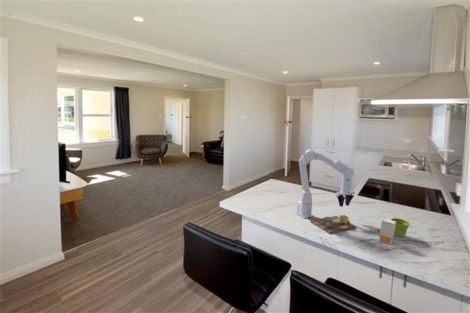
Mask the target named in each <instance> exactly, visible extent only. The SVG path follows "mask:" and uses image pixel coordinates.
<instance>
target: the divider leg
mask: <svg viewBox="0 0 470 313" xmlns="http://www.w3.org/2000/svg"><path fill="white" fill-rule="evenodd" d="M338 217H340V220H339V221H342V222H343V225H346V224H348V220H349V216H348V215H345V214H342V215H341V214H340V215H339V216H338Z"/></svg>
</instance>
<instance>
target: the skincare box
mask: <svg viewBox="0 0 470 313" xmlns="http://www.w3.org/2000/svg"><path fill="white" fill-rule="evenodd" d="M395 226H396V222H395V221H392V220H391V219H388V218H383V219H382V220H381V222H380V231H379V236H378V241H379V242H382V243H386V244H388V245H392V243H393V242H394V238H395V236H394V233H395Z"/></svg>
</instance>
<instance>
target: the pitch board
mask: <svg viewBox="0 0 470 313" xmlns="http://www.w3.org/2000/svg"><path fill="white" fill-rule="evenodd" d="M339 220H340V217H339V216H337V215H335V216H324V217H323V218H316V219H312V220H310V223H311V224H313V225H314V226H316V227H317V226H318V228H320V229H321V230H323V231H324V232H325V233H328V234H334V232H335V233H338V232H343V231H348V230H353V229H356V228H357V225H355V224H353V223H351V222H350V220H349V219H348V224H346V225H343V222H342V221H339Z"/></svg>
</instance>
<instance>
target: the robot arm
mask: <svg viewBox="0 0 470 313" xmlns="http://www.w3.org/2000/svg"><path fill="white" fill-rule="evenodd" d="M314 160H315V161H321V162H323V163H326V164H328V165H330V166H331V169H333V170H335V171H336V172H339V173H340V174H342V177H341V186H340V191H338V192H335V196H336V198H337V200H338V205H339V207H340V208H343V206H344V203H345V206H348V207H349V206H350V203H351V202H352V200H353V198H354V197H355V195H356V190H352V184H353V183H352V181H353V176H354V174H355V172H354V169H353V168H352V167H351V166H350V165H349V164H345V163H343V162H341V160H340V159H339V160H337V159H336V160H333V159H331V158H330V157H328V156H327V155H326V156H325V155H324V154H322V153H321V152H319V151H316V150H314V149H312V148H307V149H306V150H305V151H304V152H303V153H302V155H301V157H300V159H299V161H298V166H299V175H300V182H301V189H302V193H301V200H298V202H297V204H296V206H297V207H296V212H295V214H297V215H298V216H301V218H303V219H308V218H314V217H315V216H314V214H312V210H313V209H312V208H313V197H312V196H313V195H312V193H311V191H310V184H309V178H308V168H307V165H308V164H310V163H311V162H313V161H314Z"/></svg>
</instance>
